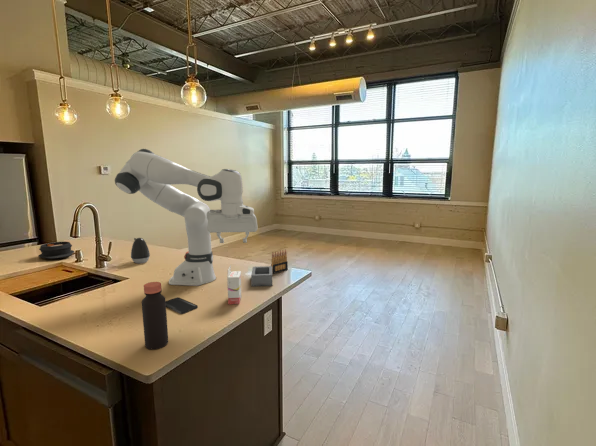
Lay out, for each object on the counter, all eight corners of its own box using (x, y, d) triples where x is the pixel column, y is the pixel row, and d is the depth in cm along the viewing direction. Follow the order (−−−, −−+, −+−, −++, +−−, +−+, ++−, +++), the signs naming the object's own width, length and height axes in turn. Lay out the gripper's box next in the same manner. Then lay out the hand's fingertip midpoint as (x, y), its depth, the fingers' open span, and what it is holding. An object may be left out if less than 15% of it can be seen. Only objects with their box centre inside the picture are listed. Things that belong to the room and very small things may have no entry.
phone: (178, 297, 136) (198, 305, 127) (178, 299, 136) (198, 308, 127) (160, 302, 130) (181, 312, 121) (160, 305, 130) (181, 315, 121)
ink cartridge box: (240, 304, 130) (239, 270, 128) (227, 304, 130) (226, 270, 128) (241, 296, 139) (241, 264, 136) (230, 296, 138) (229, 264, 136)
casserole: (35, 255, 204) (33, 243, 203) (69, 250, 218) (68, 238, 216) (42, 263, 187) (40, 249, 186) (79, 257, 201) (77, 244, 200)
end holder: (251, 286, 151) (251, 275, 150) (253, 276, 164) (252, 266, 163) (272, 285, 151) (272, 274, 151) (272, 276, 165) (272, 266, 164)
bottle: (150, 352, 95) (145, 290, 92) (141, 344, 100) (136, 284, 97) (172, 343, 100) (168, 284, 97) (162, 336, 105) (158, 279, 102)
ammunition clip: (272, 274, 169) (272, 252, 167) (270, 273, 171) (270, 251, 169) (287, 270, 176) (287, 249, 174) (285, 269, 178) (285, 248, 176)
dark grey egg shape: (144, 259, 197) (142, 235, 195) (153, 261, 191) (151, 237, 189) (128, 262, 189) (125, 238, 186) (136, 265, 183) (134, 240, 180)
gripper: (204, 210, 124) (206, 244, 126) (256, 210, 126) (257, 243, 128) (207, 208, 130) (209, 241, 133) (257, 208, 132) (258, 240, 134)
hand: (233, 242), depth 130 cm, fingers open, 8 cm apart
